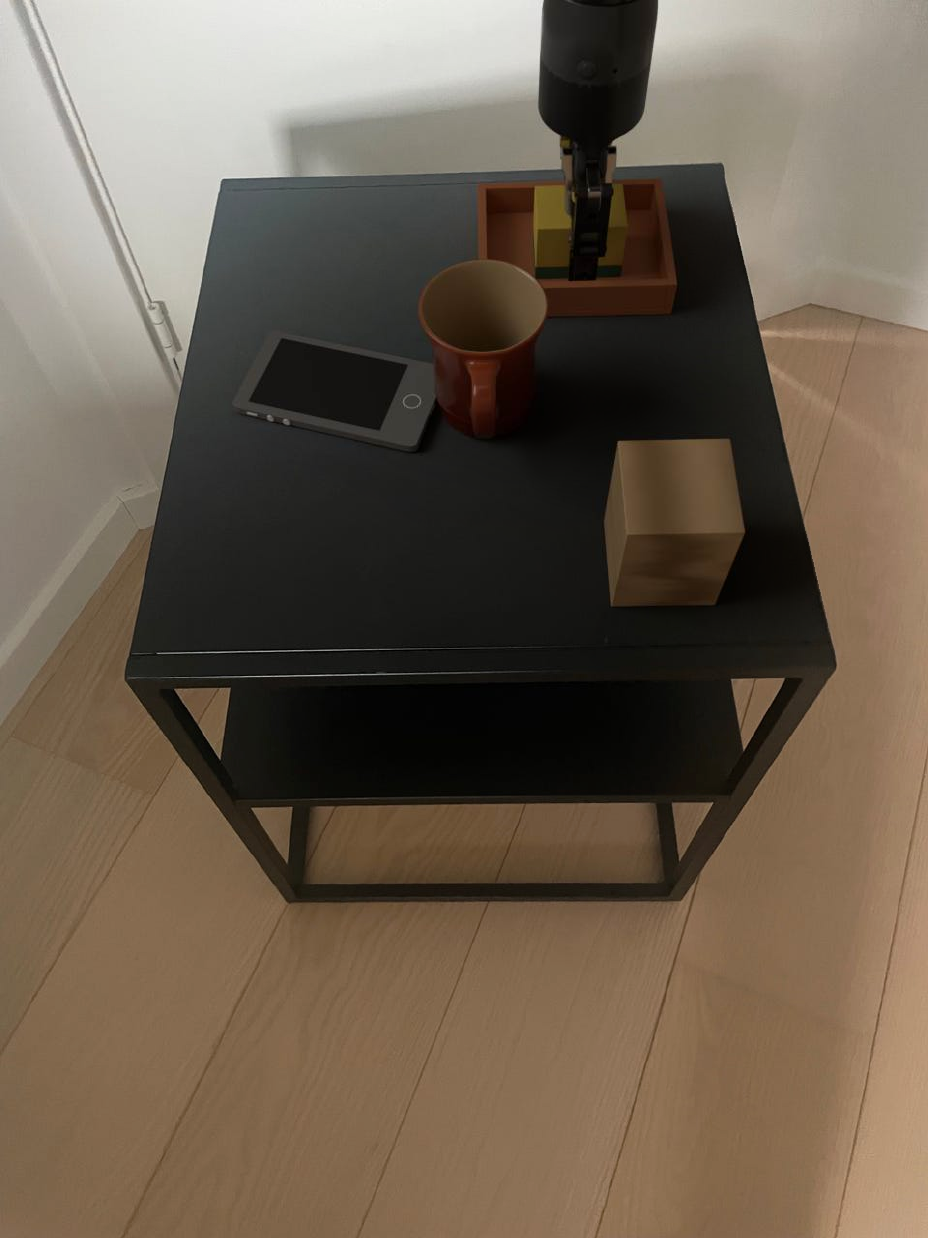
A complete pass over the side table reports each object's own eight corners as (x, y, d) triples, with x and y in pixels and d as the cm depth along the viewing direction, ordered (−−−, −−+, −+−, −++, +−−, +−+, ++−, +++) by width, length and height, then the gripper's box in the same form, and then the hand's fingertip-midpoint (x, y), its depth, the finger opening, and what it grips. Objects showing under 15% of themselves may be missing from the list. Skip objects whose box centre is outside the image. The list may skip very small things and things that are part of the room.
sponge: (616, 234, 80) (622, 182, 76) (620, 277, 78) (627, 226, 74) (532, 236, 81) (534, 185, 76) (534, 279, 78) (537, 228, 74)
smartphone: (230, 412, 73) (228, 406, 73) (271, 335, 77) (269, 329, 76) (415, 454, 71) (414, 448, 70) (448, 372, 74) (448, 366, 74)
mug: (429, 363, 75) (420, 259, 66) (541, 362, 75) (546, 257, 66) (424, 488, 70) (413, 393, 61) (545, 487, 69) (552, 392, 60)
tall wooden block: (703, 518, 68) (730, 438, 60) (715, 605, 64) (745, 532, 56) (603, 520, 68) (617, 440, 60) (610, 607, 65) (626, 534, 57)
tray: (656, 208, 83) (661, 177, 80) (670, 314, 77) (677, 284, 74) (478, 213, 83) (477, 182, 80) (479, 318, 77) (478, 289, 75)
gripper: (663, 112, 61) (631, 307, 75) (643, -18, 67) (617, 184, 82) (544, 115, 61) (535, 309, 75) (536, -14, 67) (529, 187, 82)
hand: (578, 244), depth 78 cm, fingers open, 7 cm apart
